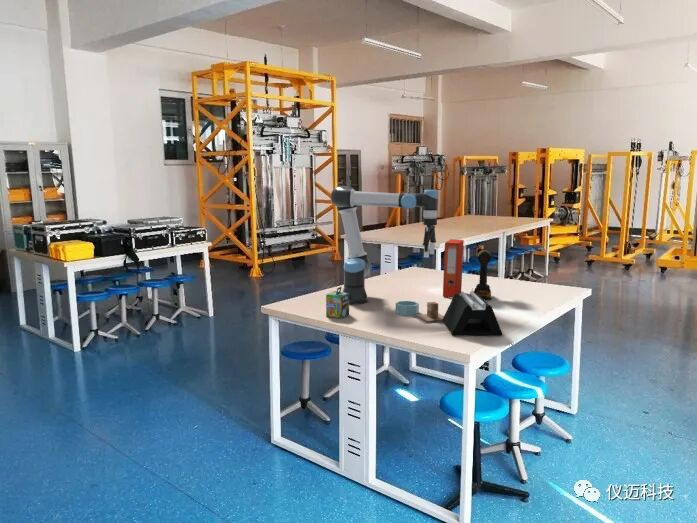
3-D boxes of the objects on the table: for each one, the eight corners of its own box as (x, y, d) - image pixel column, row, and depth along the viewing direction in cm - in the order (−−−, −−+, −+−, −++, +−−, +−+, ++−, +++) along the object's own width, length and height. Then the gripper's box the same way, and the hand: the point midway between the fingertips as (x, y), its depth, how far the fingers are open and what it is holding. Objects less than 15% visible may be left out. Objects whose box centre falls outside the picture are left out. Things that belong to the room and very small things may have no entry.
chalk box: (333, 312, 292) (333, 284, 289) (349, 314, 288) (350, 286, 285) (325, 316, 284) (325, 287, 281) (341, 318, 280) (341, 289, 277)
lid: (426, 322, 270) (427, 306, 269) (416, 316, 281) (416, 301, 280) (449, 321, 274) (449, 304, 272) (437, 315, 285) (438, 299, 284)
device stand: (488, 321, 273) (490, 291, 270) (502, 336, 251) (504, 303, 248) (442, 321, 272) (443, 291, 270) (452, 336, 250) (453, 303, 248)
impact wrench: (470, 299, 322) (472, 251, 317) (472, 292, 342) (474, 246, 337) (495, 301, 318) (497, 252, 314) (495, 293, 338) (497, 247, 334)
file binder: (461, 292, 341) (463, 239, 336) (456, 298, 325) (458, 243, 320) (448, 291, 344) (450, 239, 339) (442, 297, 328) (444, 242, 323)
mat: (425, 325, 268) (425, 324, 268) (412, 317, 282) (412, 316, 282) (453, 322, 273) (453, 321, 273) (439, 315, 287) (439, 314, 287)
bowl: (401, 317, 283) (401, 306, 282) (393, 312, 293) (393, 301, 292) (421, 315, 286) (421, 305, 285) (412, 310, 296) (412, 300, 296)
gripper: (431, 219, 300) (430, 259, 304) (441, 216, 323) (440, 253, 327) (418, 219, 303) (417, 258, 306) (428, 216, 326) (427, 252, 329)
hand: (429, 255), depth 316 cm, fingers open, 13 cm apart
